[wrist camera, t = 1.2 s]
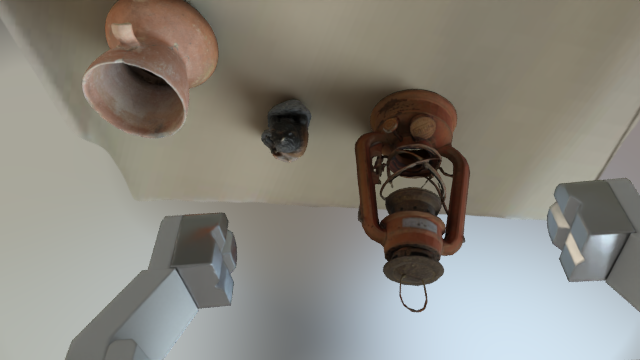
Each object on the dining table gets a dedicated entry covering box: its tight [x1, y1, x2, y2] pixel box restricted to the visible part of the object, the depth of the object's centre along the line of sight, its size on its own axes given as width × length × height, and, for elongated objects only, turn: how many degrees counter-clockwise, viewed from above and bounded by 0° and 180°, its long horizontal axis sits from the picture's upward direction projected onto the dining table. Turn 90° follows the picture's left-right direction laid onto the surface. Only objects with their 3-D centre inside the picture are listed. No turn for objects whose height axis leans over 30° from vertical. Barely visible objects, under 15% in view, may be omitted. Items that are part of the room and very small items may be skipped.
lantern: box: [355, 90, 470, 312], centre depth 67 cm, size 17×13×30 cm
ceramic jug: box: [82, 0, 218, 138], centre depth 63 cm, size 18×14×14 cm
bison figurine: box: [261, 100, 312, 162], centre depth 75 cm, size 12×7×10 cm, turn 169°
